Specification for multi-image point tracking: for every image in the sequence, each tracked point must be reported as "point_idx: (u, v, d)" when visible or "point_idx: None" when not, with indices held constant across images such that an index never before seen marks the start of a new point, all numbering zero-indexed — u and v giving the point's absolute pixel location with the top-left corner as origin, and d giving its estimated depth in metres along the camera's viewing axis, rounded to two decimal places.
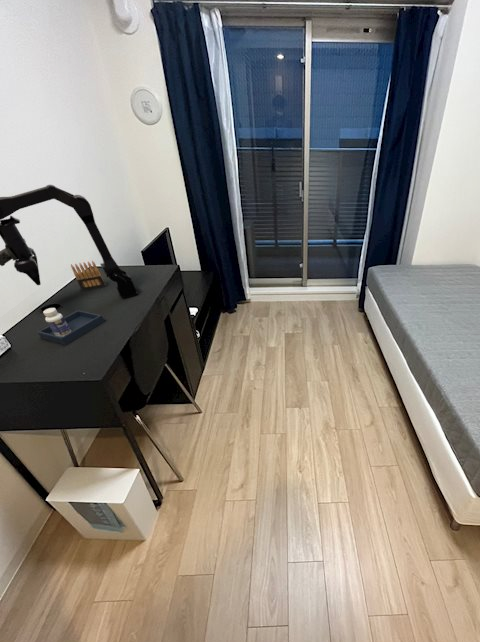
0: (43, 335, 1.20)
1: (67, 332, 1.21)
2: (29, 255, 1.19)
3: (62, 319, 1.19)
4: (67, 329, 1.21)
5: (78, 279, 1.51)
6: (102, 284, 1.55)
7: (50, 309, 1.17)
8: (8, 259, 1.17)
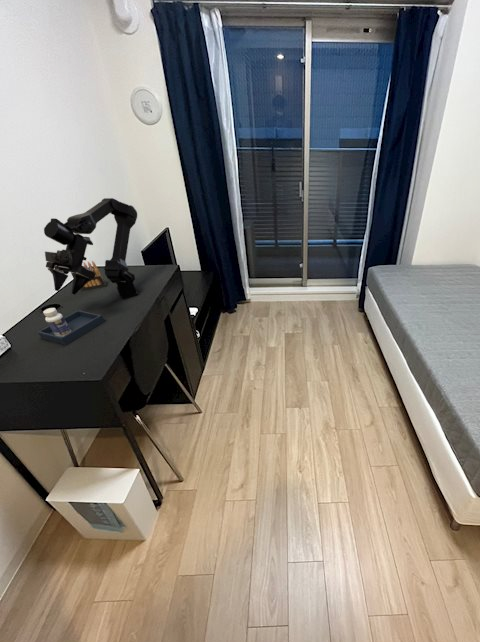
0: (43, 335, 1.20)
1: (67, 332, 1.21)
2: None
3: (62, 319, 1.19)
4: (67, 329, 1.21)
5: None
6: (102, 284, 1.55)
7: (50, 309, 1.17)
8: (64, 261, 1.15)
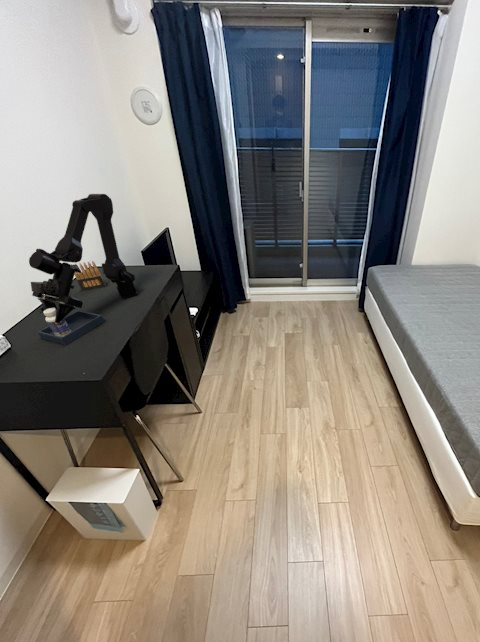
0: (43, 335, 1.20)
1: (67, 332, 1.21)
2: None
3: (62, 319, 1.19)
4: (67, 329, 1.21)
5: (78, 279, 1.51)
6: (102, 284, 1.55)
7: (50, 309, 1.17)
8: (50, 291, 1.13)
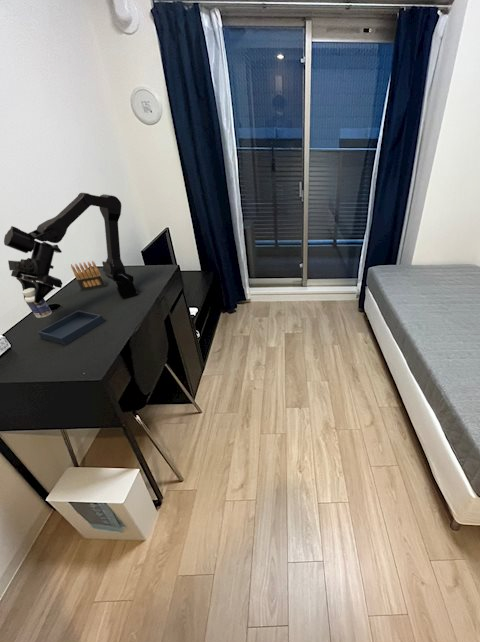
0: (43, 335, 1.20)
1: (47, 313, 1.20)
2: None
3: (42, 299, 1.18)
4: (47, 309, 1.20)
5: (78, 279, 1.51)
6: (102, 284, 1.55)
7: (29, 289, 1.16)
8: (28, 270, 1.12)
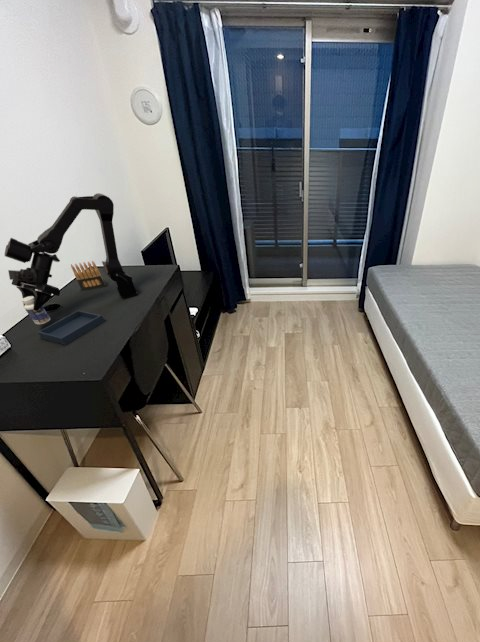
0: (43, 335, 1.20)
1: (46, 320, 1.26)
2: None
3: (40, 307, 1.23)
4: (46, 316, 1.25)
5: (78, 279, 1.51)
6: (102, 284, 1.55)
7: (28, 297, 1.21)
8: (28, 279, 1.17)
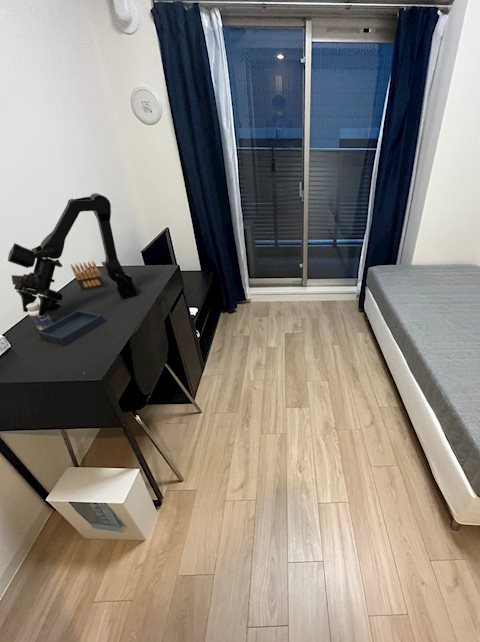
0: (43, 335, 1.20)
1: None
2: None
3: None
4: (50, 322, 1.27)
5: (78, 279, 1.51)
6: (102, 284, 1.55)
7: (33, 303, 1.23)
8: (30, 284, 1.18)
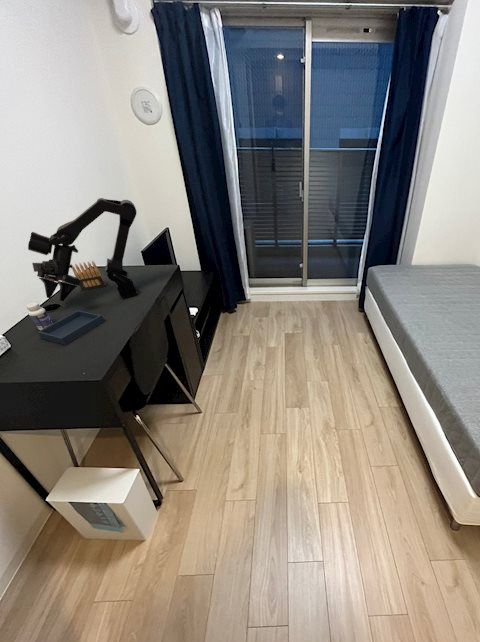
0: (43, 335, 1.20)
1: None
2: None
3: (44, 313, 1.25)
4: (50, 322, 1.27)
5: None
6: (102, 284, 1.55)
7: (33, 303, 1.23)
8: (50, 270, 1.24)
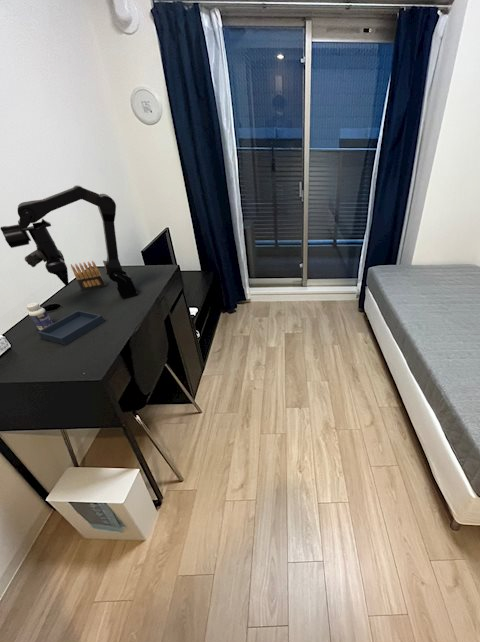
0: (43, 335, 1.20)
1: None
2: (59, 257, 1.24)
3: (44, 313, 1.25)
4: (50, 322, 1.27)
5: (78, 279, 1.51)
6: (102, 284, 1.55)
7: (33, 303, 1.23)
8: (39, 260, 1.22)
